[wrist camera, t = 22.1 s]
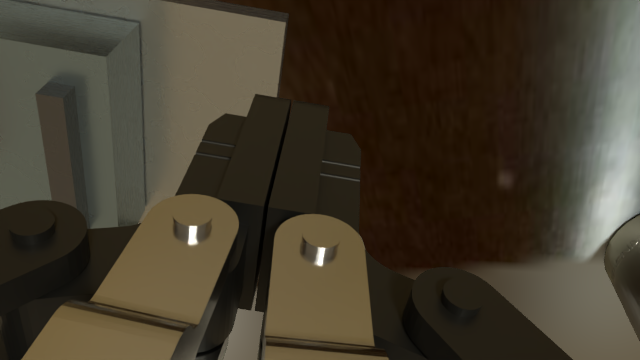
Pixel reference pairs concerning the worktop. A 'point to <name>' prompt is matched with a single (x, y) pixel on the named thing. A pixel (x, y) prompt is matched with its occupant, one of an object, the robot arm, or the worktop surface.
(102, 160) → the sliding jaw
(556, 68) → the worktop surface
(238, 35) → the vise base
